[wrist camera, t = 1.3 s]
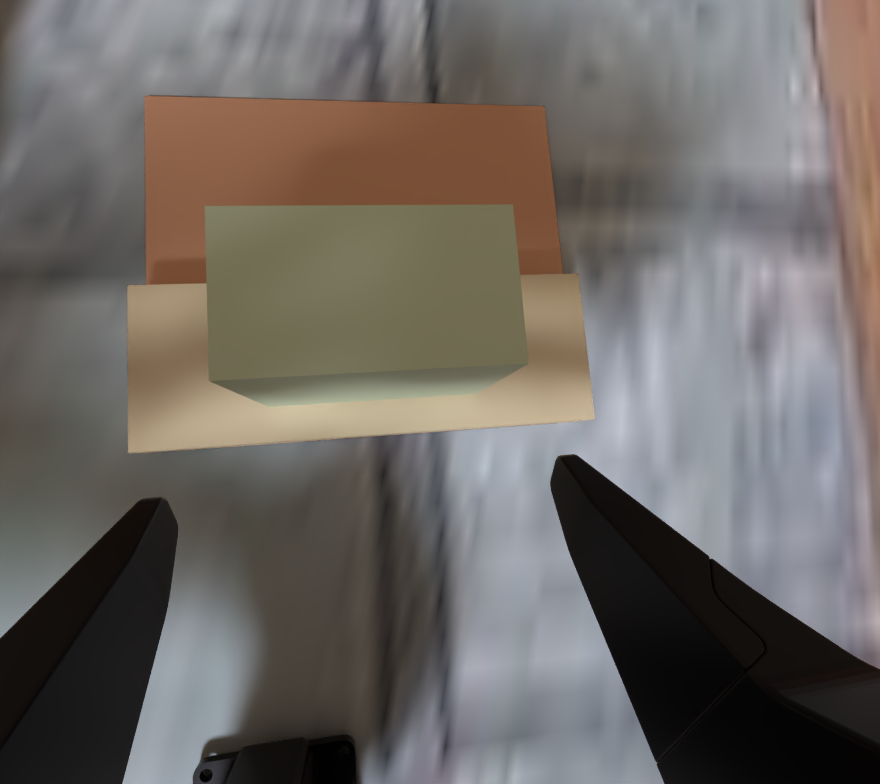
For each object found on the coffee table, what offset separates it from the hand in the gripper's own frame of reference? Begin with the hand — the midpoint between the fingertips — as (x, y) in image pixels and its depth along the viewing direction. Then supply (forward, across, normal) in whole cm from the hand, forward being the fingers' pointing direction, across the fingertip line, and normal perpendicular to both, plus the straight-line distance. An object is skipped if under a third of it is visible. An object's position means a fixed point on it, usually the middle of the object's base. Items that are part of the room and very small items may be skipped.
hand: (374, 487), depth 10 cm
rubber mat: (+18, -1, -1) cm, 19 cm away
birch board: (+12, 0, +5) cm, 13 cm away
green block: (+11, 0, +4) cm, 12 cm away
